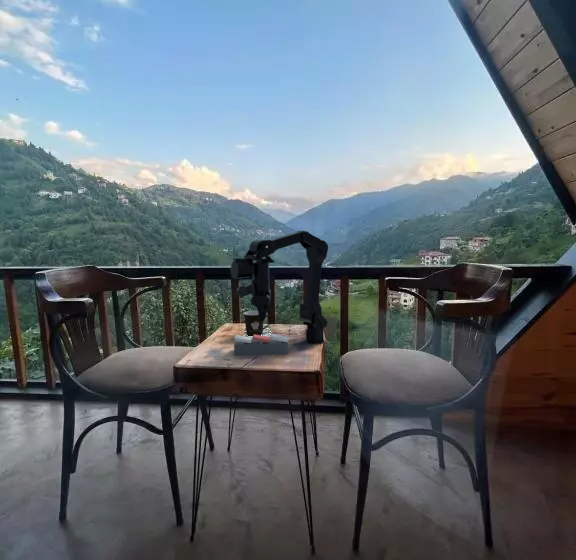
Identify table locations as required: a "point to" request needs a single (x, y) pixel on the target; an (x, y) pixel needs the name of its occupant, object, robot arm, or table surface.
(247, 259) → the robot arm
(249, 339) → the white rectangular block
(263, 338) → the red block
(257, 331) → the coffee mug
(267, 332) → the table surface
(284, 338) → the block
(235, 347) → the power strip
